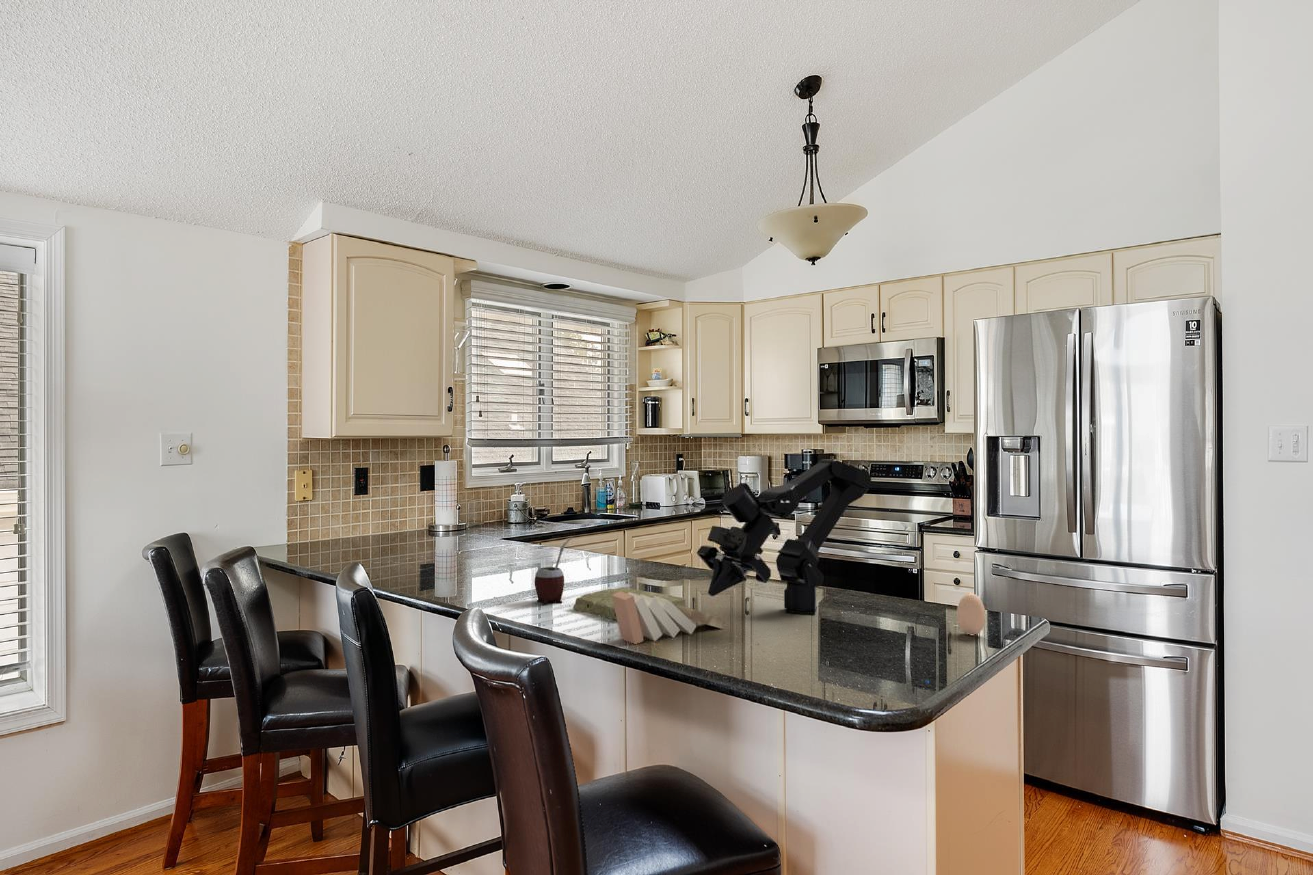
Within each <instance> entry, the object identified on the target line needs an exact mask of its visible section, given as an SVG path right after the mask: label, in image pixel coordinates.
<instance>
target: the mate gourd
mask: <svg viewBox="0 0 1313 875" xmlns="http://www.w3.org/2000/svg"><path fill="white" fill-rule="evenodd" d="M571 540H572V537H569V538H568V539H567V540H566V541H565V542H564V543H563V544H562V545H561V547H560V549H559V554H558V557H557V560H556V564H555V566H554V567H553V566H547V567H540V568H538V569H537V571H536V573H535V577H534V588H535V592H536V595H537V599H536V602H537V603H542V606H548V605H550V604H562V603H563V600H562V597H563V594H564V587H565V576H564V572H563V570H562V569H561V568H560V567H559V565H560V560H561V558H562V553H564V550H565V546H566V545H567V544H568V543H569V542H570V541H571Z"/></svg>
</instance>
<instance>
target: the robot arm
mask: <svg viewBox="0 0 1313 875" xmlns="http://www.w3.org/2000/svg"><path fill="white" fill-rule="evenodd" d="M827 482H829V483H830V484H829V485H830V492H829V495H828V496H827V498H826V499H825V500H824V502H823V504H822V505H821V507H820V508H819V510H818V511H817V512H816V514H815V515H814V517H813V518H812V520H811V521H810V523H809V524H808V526H807V527H806V528H805V530H804V531H803V533H802V534H801V535H800V537H799V538H798V539H792V538H786V541H785V542H784V544H783V545H782V547H781V548H780V549H779V550H777V553H778V555H777V556H776V559H775V563H776V569H777V572H778V574H779V577H780V578H779V579H780V581H781V582H785V583H786V587H785V588H784V590H783V591H784V593H783V594H784V595H783V597H784V599H783V601H784V602H783V603H784V604H783V606H784V609H785V613H790V614H806V615H815V614H816V613H817V610H818V606H817V588H818V587H819V586H823V584H824V580H825V575H824V574H823V573H822V571H821V570H820V568H818V564H819V561H820V560H819V555H820V554H819V552H820V551H819V550H820V549H821V547H822V546H823V544H824V542H825V541H826V540H827V538H828V537H829V535H830V533H831V532H832V531H833V529H834V528H835V526H836V525H837V523H838V522H839V520H840V519H841V517H842V516H843V515H844V512H845V511H846V509H847V508H848V506H850V505H851V504H852V503H854V502H855V501H858V500H859V499H861V498H862V497H863V496H864V495H865V494H866V493H867V492H868V491H869V489H870V487H871V486H872V477H871V475H870V472H869V471H868V470H867V469H866V468H860V467H856V466H853V465H850V464H847V463H843V462H842V461H840V460H838V459H831V458H829V459H828V458H827V459H826V458H823V459H820V460H818V462H816V464H814V465H813V466H811V467H810V468H808V469H807V470H805V471H804V472H802V473H801V474H799V475H798V476H796V477H795V478H793V479H792V480H790V481H788V482H787V483H784V484H782V485H777V486H773V487H770V488H767V489H764V490H763V491H761V492H760V493H759V494H758V495H757V496H756V494H755V493H754V492H753V491H752V490H751V487H750V486H749V484H748V483H747V482H739V483H738V484H737V486H734V487H733V488H730V489H729V490H728V491H727V492H725V493H724V494H723V496H722V498H721V504H722V505H723V506H724V507H725V509H726V510H727V512H728V513H729V514H730V515H731V516H732V518H733V519H734V520H735V521H736V522H737V523H739V524H741V523H743V525H742V527H738V526H731V527H730V528H726V527H723V526H716V525H712V526H711V528H710V530H709V534H708V537H707V541H708V542H713V543H715V544H717V545H719V546H718V548H717V547H716V546H711V545H701V546H700V547H699V549H698V550H697V551H696V554H697V555H698V557H699V558H700V559H701V560H702V561H703V562H704V563H705V565H706V566H707V567H708V568H709V569H710V570H711V571H713V574H712V578H711V581H710V584H709V587H708V590H707V591H708V592H707V594H708V595H709V596H711V597H715V596H716V595H718V594H720V593H723V592H724V591H726V590H728V589H730V588H732V587H733V586H736V585H738V584H740V583H742V582H747V580H748V579H747V575H748V574H749V573H751V572H753V573H756V574H755V580H756V581H757V582H758V583H759V582H760V583H764V584H767V583H768V581H769V579H770V578H771V576H772V573H771V572H772V570H771V568H770V567H769V566H768V565H767V563H766V562H765V561H764V560H763V559H762V557H761V556H760V555H762V554H763V553H764V550H763V549H762V546H763V545H764V544H765V542H766V541H767V539H768V538H769V537H770V535H772V536H773V535H774V536H781V534H782V533H781V529H780V523H779V522H776V521H774V520H773V518H780V519H786V518H788V517H789V516H791V515H792V514H793V513H794V512H795V510H797V508H798V507H799V505H800V502H801V501H802V500H803V499H804V498H805V497H806V496H808V495H810V494H811V493H813V492H814V491H815V490H817V489H819V488H820V487H821V486H823V485H825V484H826V483H827ZM771 517H773V518H771ZM719 550H720V551H721V552H720V551H719ZM722 552H723V553H722Z"/></svg>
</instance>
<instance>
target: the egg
mask: <svg viewBox="0 0 1313 875" xmlns="http://www.w3.org/2000/svg"><path fill="white" fill-rule="evenodd" d="M986 618H987V614H986V609H985V606H984V603H983V601H982V599H981V598H980V597H979V596H978V595H977V594H975V593H971V592H969V593H966V594H965V595H964V596H962V598H961V599H960V600H959V602H958V605H957V608H956V621H957V624H958V626H959V628H960V629H961V631H963V633H964V634H966V633H969V634H977V635H978V634H980V633H981V631H983V629H984V627H985V625H986V621H987V620H986Z"/></svg>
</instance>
